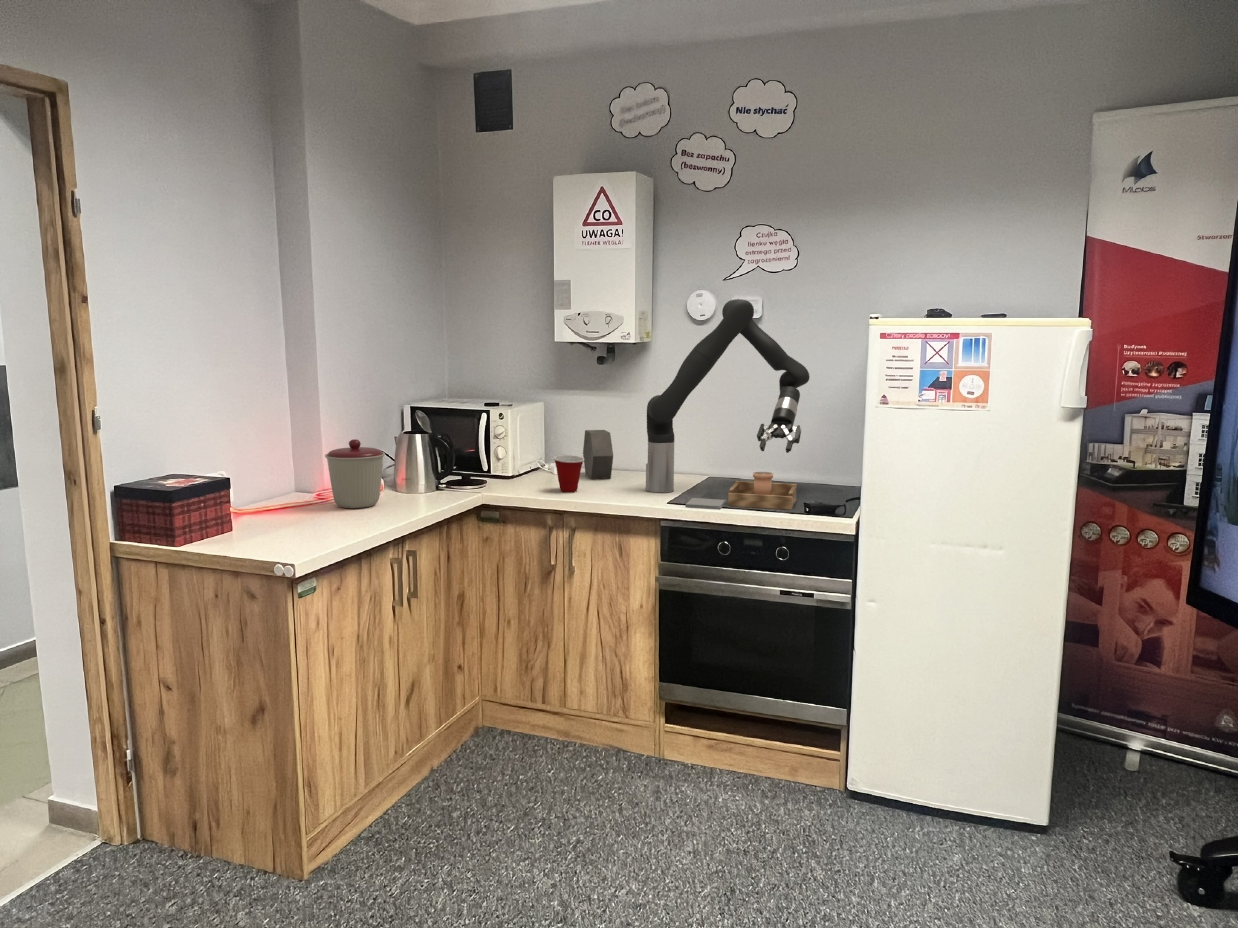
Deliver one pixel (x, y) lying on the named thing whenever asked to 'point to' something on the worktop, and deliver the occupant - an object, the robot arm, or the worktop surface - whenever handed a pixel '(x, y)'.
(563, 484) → the plastic cup
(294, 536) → the worktop surface
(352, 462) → the canister
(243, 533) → the worktop surface
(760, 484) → the terracotta pot
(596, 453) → the grey hexagonal block
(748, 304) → the robot arm
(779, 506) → the wooden tray
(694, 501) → the slate tile
